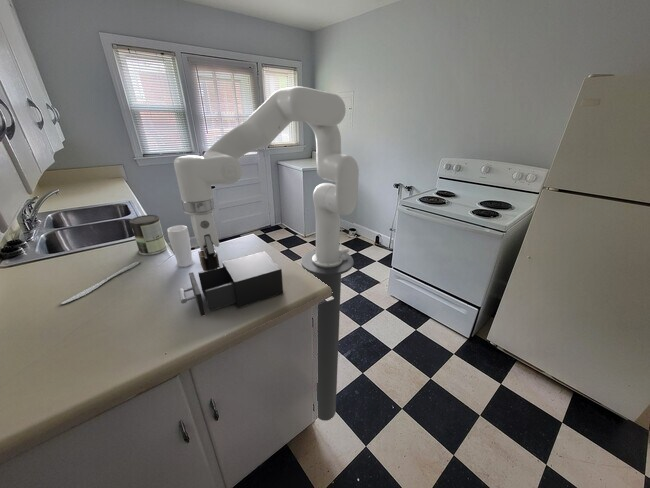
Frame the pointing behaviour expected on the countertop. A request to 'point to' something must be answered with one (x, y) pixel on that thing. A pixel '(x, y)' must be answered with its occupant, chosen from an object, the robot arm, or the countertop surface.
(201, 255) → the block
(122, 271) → the butter knife
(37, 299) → the countertop surface
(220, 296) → the drawer
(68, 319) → the countertop surface
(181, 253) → the drinking glass
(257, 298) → the cabinet
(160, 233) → the coffee can
